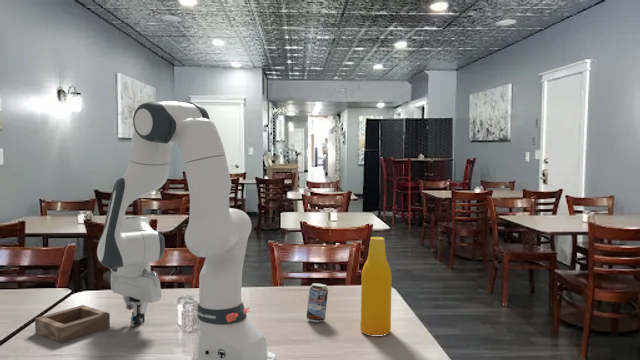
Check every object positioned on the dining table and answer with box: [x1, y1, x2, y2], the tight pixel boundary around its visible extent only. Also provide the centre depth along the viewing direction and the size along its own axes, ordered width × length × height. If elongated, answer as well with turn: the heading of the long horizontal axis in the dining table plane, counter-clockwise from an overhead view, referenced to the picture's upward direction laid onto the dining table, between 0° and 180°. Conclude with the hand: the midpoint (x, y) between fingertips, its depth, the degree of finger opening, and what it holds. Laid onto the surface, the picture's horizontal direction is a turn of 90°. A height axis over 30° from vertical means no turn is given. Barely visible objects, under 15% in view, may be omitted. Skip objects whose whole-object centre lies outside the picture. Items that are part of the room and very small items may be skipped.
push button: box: [129, 297, 146, 327], centre depth 153 cm, size 7×5×10 cm
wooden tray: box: [34, 304, 111, 344], centre depth 148 cm, size 14×15×4 cm
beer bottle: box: [359, 236, 393, 335], centre depth 149 cm, size 9×9×29 cm
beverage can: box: [306, 283, 329, 323], centre depth 159 cm, size 6×7×12 cm
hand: (135, 311), depth 153 cm, fingers closed on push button, 5 cm apart
